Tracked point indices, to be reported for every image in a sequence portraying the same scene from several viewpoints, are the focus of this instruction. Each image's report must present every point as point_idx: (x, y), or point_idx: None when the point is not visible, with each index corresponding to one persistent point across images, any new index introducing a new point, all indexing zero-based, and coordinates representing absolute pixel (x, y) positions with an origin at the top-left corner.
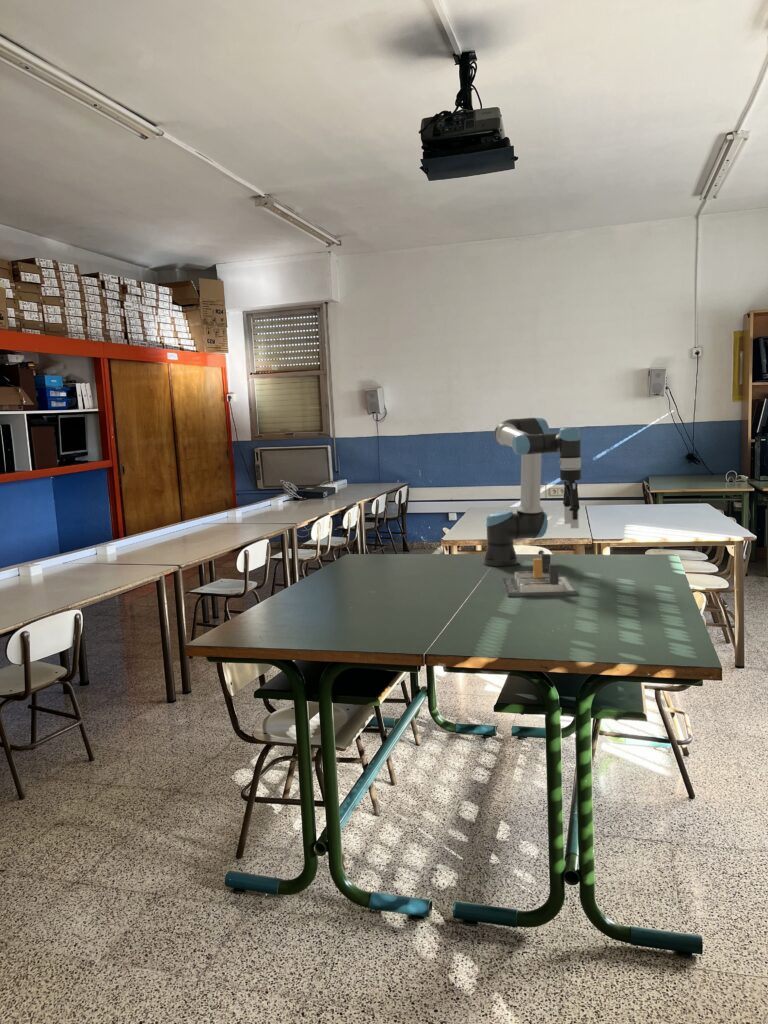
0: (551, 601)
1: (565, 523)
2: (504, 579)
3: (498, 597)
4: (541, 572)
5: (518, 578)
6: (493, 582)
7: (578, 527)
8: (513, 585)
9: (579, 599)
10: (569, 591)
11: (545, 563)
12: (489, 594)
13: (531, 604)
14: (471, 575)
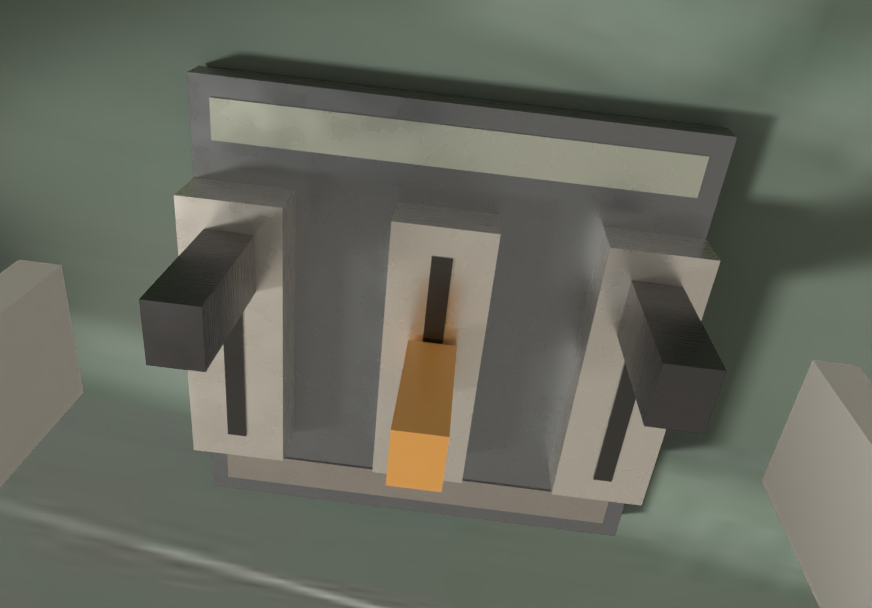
0: (805, 333)
1: (79, 386)
2: (247, 481)
3: (592, 551)
4: (453, 373)
5: None
6: (213, 504)
7: (866, 378)
8: None
9: (839, 146)
10: (718, 196)
11: (229, 308)
12: (509, 572)
13: None
14: (19, 562)
